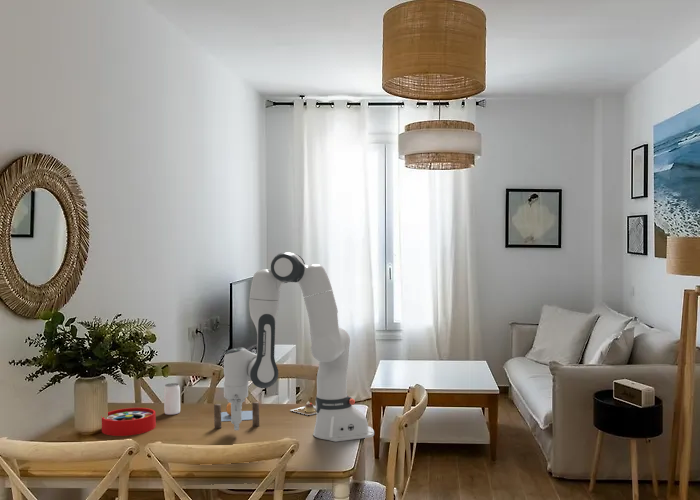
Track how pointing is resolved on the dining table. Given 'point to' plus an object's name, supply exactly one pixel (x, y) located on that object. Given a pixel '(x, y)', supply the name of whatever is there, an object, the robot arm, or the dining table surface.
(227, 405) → the ball
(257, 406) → the right post
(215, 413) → the left post
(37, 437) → the dining table surface
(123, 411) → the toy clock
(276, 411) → the dining table surface
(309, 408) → the dessert
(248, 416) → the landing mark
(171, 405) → the can
